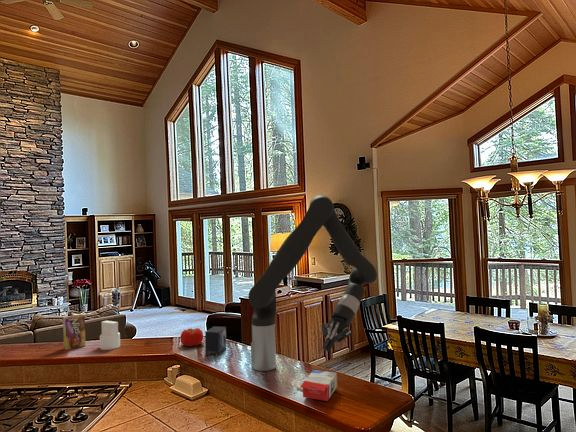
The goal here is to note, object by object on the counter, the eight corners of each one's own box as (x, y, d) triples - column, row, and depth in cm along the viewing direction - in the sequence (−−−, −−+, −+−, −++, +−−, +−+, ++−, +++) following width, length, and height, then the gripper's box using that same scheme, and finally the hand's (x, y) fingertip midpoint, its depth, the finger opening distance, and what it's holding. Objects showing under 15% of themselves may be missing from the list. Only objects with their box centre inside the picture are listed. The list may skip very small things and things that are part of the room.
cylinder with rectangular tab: (95, 348, 203) (95, 323, 203) (112, 343, 210) (111, 319, 211) (107, 350, 198) (107, 324, 198) (124, 345, 206) (123, 320, 206)
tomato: (204, 341, 209) (204, 326, 209) (201, 347, 198) (201, 331, 198) (182, 342, 209) (182, 327, 209) (178, 348, 198) (177, 332, 198)
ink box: (313, 383, 147) (298, 401, 133) (313, 369, 147) (298, 385, 133) (337, 386, 144) (324, 405, 130) (337, 372, 144) (324, 390, 130)
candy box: (83, 344, 210) (82, 313, 210) (85, 346, 207) (85, 314, 207) (63, 348, 204) (62, 316, 204) (65, 350, 201) (65, 317, 201)
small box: (218, 356, 185) (218, 332, 185) (204, 355, 186) (204, 331, 186) (227, 349, 195) (226, 326, 195) (213, 348, 196) (213, 325, 196)
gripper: (327, 301, 161) (306, 340, 152) (356, 305, 151) (334, 347, 142) (337, 313, 164) (316, 352, 155) (365, 317, 155) (345, 359, 146)
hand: (325, 350), depth 149 cm, fingers closed
